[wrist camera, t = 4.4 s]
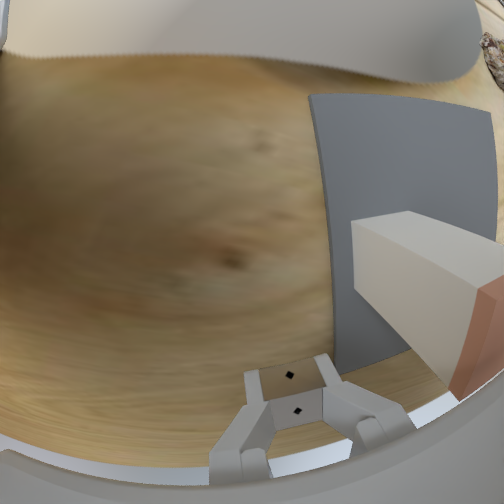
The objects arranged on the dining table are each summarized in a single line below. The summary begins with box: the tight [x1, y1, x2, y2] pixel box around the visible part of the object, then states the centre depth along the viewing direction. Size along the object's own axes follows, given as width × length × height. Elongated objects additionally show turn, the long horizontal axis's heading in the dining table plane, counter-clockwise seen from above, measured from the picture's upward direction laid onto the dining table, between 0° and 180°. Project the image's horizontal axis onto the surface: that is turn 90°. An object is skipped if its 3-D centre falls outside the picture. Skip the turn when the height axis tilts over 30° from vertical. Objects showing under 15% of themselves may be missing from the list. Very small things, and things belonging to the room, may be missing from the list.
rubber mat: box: [308, 94, 498, 375], centre depth 19 cm, size 22×20×1 cm
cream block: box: [351, 211, 504, 402], centre depth 12 cm, size 5×5×12 cm
